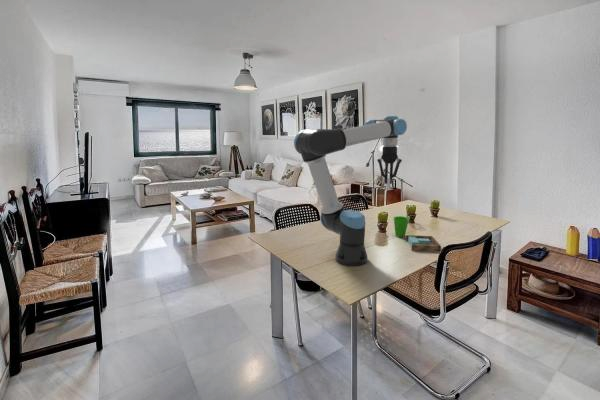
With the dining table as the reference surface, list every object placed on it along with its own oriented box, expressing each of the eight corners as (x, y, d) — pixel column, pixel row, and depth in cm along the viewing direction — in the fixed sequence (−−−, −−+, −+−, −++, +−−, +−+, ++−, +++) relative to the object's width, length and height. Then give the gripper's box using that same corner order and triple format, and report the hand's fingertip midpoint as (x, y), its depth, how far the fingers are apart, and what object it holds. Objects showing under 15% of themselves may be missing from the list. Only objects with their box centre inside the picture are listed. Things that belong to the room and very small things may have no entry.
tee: (411, 248, 172) (412, 242, 171) (407, 242, 182) (408, 236, 181) (431, 249, 171) (432, 242, 170) (426, 242, 180) (427, 236, 180)
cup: (408, 234, 194) (410, 217, 192) (407, 239, 186) (408, 221, 184) (393, 233, 198) (394, 215, 195) (391, 237, 189) (392, 219, 187)
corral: (411, 250, 169) (412, 245, 168) (405, 240, 185) (405, 235, 184) (440, 251, 167) (440, 246, 166) (431, 241, 183) (432, 235, 182)
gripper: (378, 146, 170) (376, 190, 175) (403, 146, 169) (401, 191, 173) (376, 145, 177) (375, 188, 182) (401, 145, 176) (398, 188, 181)
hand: (387, 189), depth 178 cm, fingers closed
